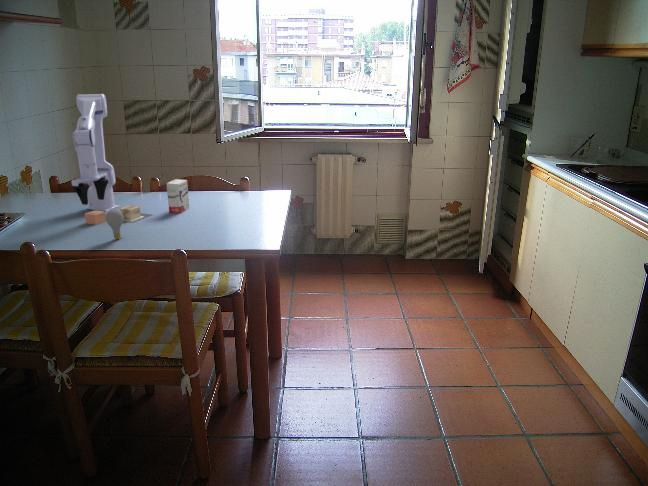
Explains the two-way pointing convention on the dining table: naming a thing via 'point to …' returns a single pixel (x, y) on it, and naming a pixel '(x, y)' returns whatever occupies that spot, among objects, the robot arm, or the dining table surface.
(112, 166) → the robot arm
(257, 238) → the dining table surface
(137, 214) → the beech block
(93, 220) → the terracotta block
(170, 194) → the ink box
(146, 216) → the grey flat panel
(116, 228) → the light bulb
